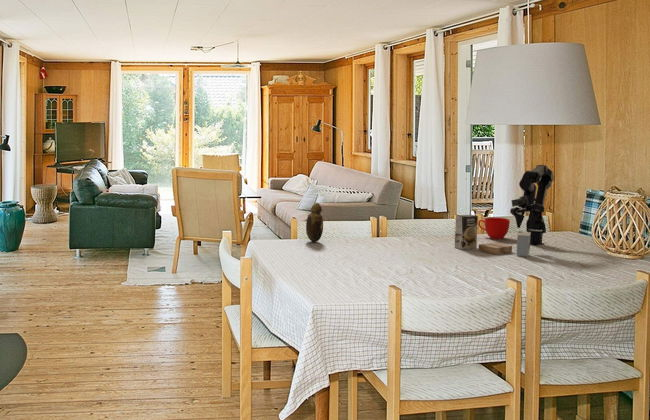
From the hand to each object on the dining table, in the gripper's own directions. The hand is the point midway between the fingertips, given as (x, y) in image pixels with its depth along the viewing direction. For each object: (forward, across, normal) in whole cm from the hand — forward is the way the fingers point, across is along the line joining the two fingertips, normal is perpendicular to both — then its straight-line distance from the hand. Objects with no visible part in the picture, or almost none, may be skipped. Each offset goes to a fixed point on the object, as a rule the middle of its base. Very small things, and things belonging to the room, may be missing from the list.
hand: (524, 226), depth 358 cm
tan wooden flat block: (+14, -8, -9) cm, 18 cm away
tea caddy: (+15, +5, -2) cm, 16 cm away
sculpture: (+23, -63, -79) cm, 104 cm away
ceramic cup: (-1, -39, +11) cm, 41 cm away
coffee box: (+13, -21, -17) cm, 30 cm away
